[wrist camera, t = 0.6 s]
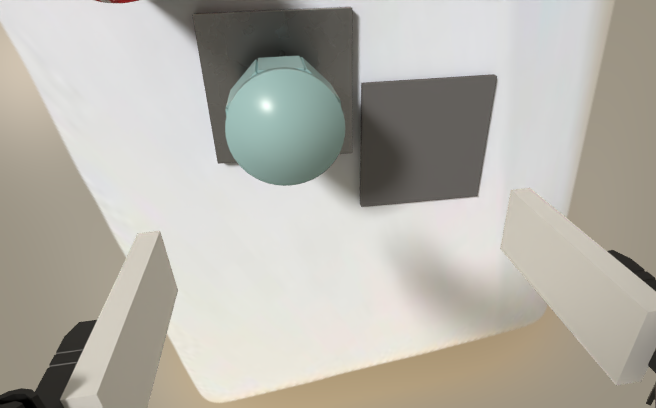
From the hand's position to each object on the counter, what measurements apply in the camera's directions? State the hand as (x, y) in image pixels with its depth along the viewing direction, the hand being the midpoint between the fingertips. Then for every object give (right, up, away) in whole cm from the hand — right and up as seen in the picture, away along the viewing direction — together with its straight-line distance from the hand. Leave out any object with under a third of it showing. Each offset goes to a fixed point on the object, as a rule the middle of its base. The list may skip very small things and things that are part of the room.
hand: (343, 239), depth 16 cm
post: (-5, +11, +20) cm, 23 cm away
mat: (+8, +7, +24) cm, 26 cm away
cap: (-4, +8, +14) cm, 17 cm away
